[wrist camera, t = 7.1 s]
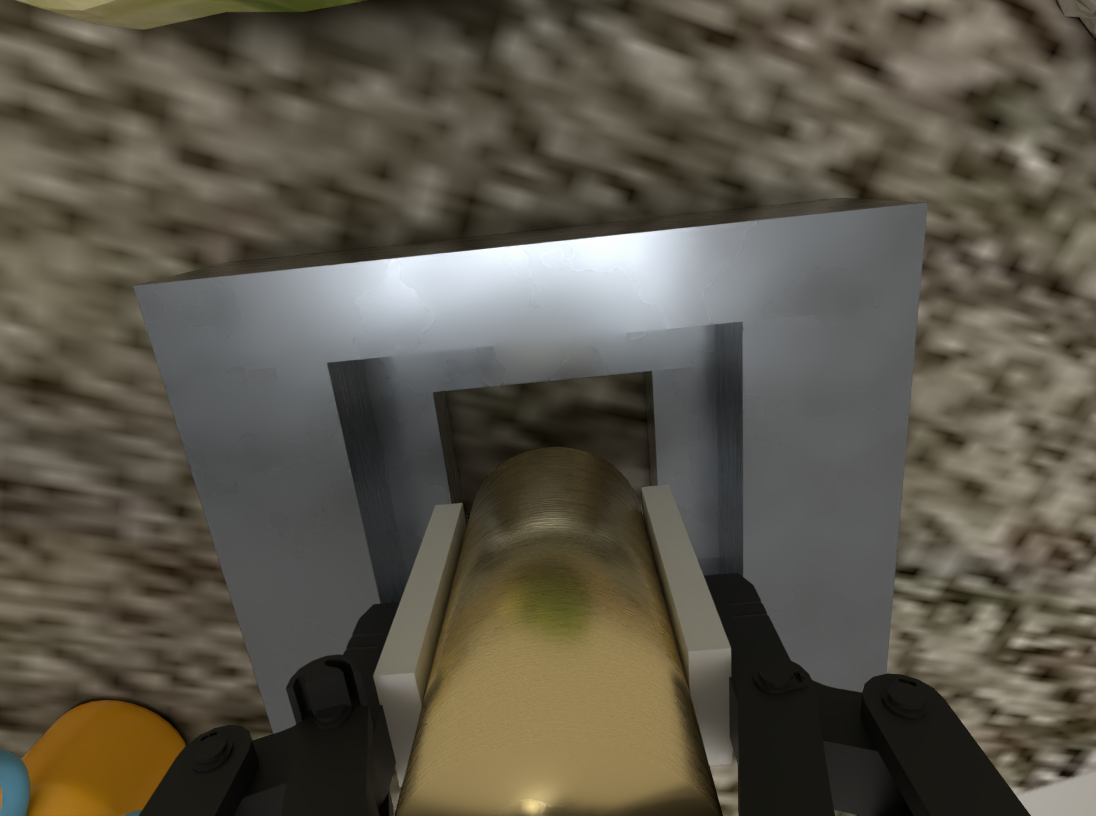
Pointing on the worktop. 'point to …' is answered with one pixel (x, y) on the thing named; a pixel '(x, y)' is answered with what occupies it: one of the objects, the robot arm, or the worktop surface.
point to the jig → (545, 355)
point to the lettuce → (169, 9)
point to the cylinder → (91, 763)
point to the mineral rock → (1081, 12)
